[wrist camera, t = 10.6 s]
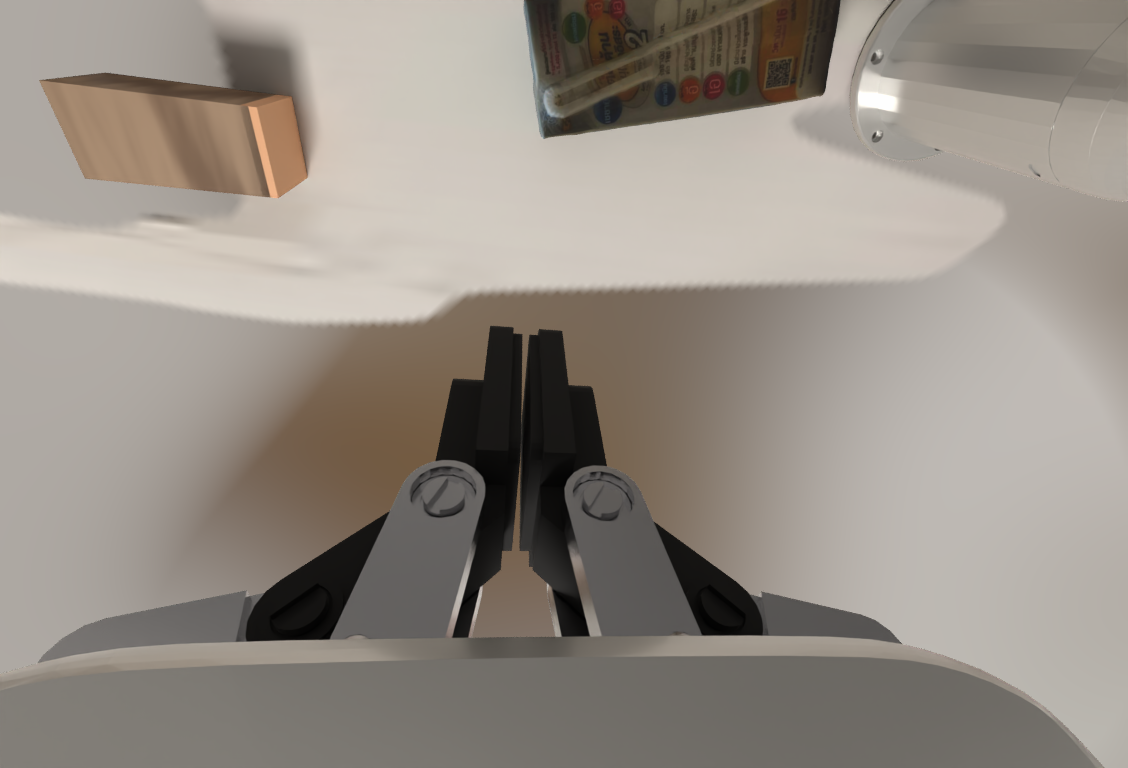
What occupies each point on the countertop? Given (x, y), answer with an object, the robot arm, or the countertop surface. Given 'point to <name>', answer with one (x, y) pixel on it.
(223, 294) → the countertop surface
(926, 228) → the countertop surface
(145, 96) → the wooden block
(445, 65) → the countertop surface
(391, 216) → the countertop surface
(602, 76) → the beverage carton
